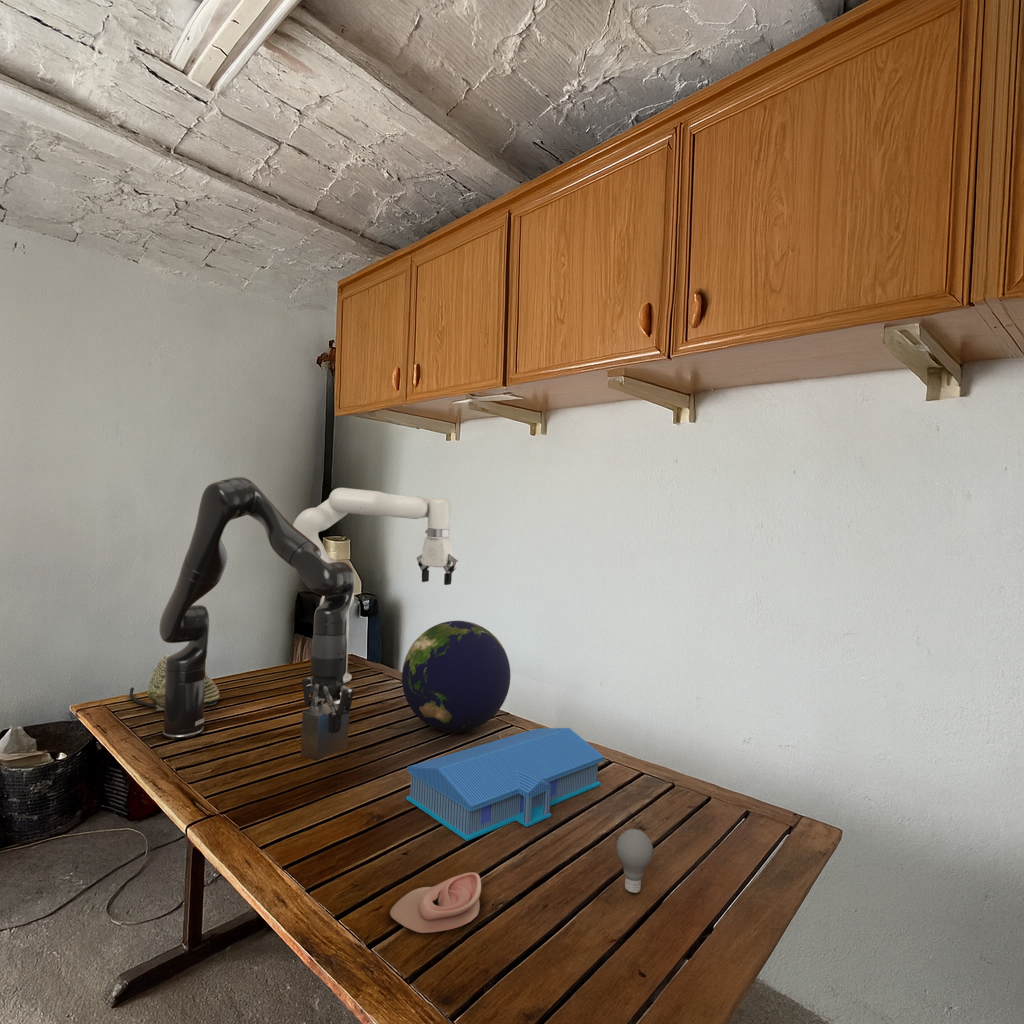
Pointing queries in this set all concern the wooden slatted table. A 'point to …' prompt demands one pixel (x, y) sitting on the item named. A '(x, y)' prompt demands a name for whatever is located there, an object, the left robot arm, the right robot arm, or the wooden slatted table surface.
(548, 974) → the wooden slatted table surface
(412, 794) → the model building
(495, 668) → the globe
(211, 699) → the fossil
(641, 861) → the light bulb
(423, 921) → the anatomical model
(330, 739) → the block
